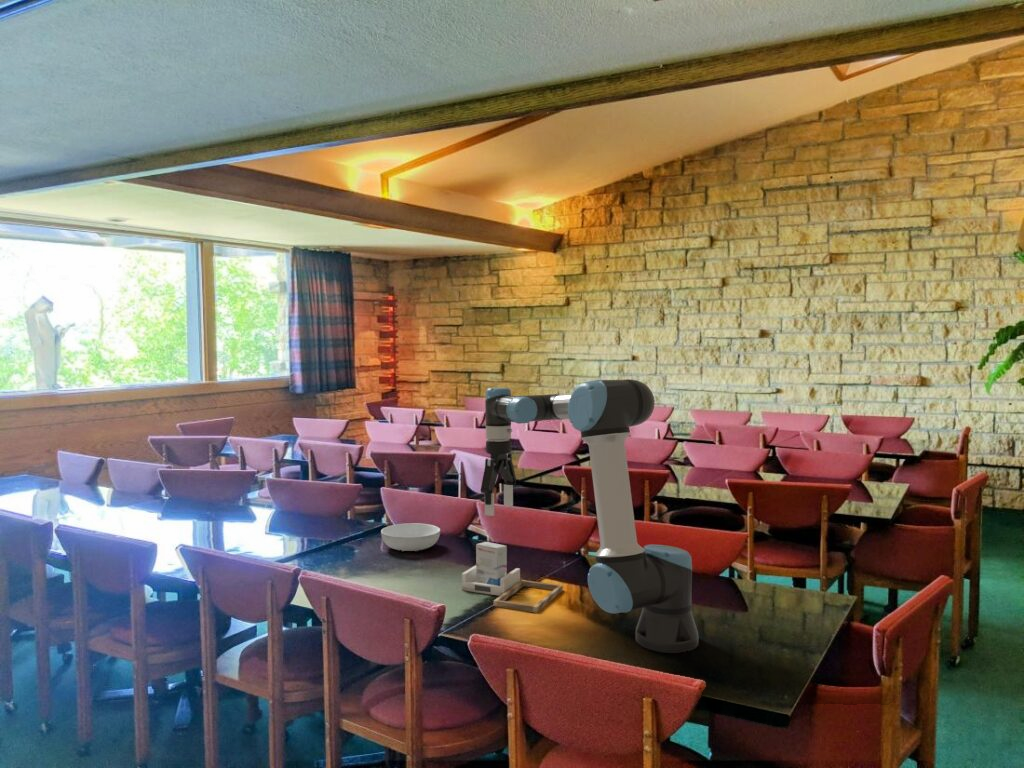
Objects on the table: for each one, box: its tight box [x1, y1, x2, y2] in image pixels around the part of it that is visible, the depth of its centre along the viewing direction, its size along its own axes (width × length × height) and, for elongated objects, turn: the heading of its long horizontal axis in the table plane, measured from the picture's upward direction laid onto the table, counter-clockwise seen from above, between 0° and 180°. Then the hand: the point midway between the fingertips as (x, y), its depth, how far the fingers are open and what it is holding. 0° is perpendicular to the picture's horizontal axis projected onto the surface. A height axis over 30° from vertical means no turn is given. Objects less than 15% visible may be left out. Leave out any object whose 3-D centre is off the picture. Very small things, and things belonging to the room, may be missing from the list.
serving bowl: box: [380, 522, 441, 552], centre depth 267 cm, size 21×21×7 cm
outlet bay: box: [461, 564, 521, 597], centre depth 224 cm, size 12×14×5 cm
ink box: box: [475, 541, 508, 586], centre depth 224 cm, size 9×5×12 cm, turn 52°
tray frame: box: [492, 579, 564, 614], centre depth 215 cm, size 20×13×2 cm, turn 156°
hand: (499, 510), depth 223 cm, fingers open, 13 cm apart
